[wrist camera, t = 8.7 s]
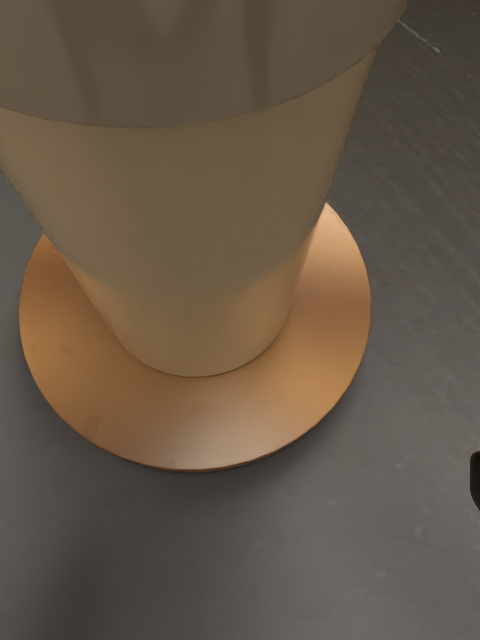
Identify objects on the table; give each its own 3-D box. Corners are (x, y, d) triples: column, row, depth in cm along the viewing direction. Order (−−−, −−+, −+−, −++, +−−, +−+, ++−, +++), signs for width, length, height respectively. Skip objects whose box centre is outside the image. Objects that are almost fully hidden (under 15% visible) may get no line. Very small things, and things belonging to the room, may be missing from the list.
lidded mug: (336, 318, 16) (637, -173, 4) (153, 424, 14) (-163, 95, 3) (205, 139, 19) (173, -429, 7) (41, 210, 17) (-334, -380, 6)
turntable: (389, 465, 15) (400, 463, 14) (3, 479, 14) (-13, 478, 14) (341, 166, 20) (347, 150, 19) (52, 168, 19) (44, 152, 18)
